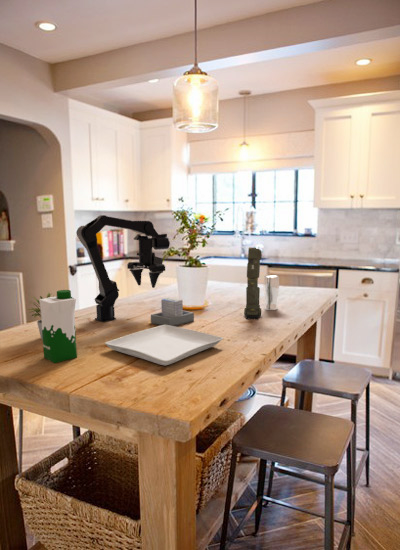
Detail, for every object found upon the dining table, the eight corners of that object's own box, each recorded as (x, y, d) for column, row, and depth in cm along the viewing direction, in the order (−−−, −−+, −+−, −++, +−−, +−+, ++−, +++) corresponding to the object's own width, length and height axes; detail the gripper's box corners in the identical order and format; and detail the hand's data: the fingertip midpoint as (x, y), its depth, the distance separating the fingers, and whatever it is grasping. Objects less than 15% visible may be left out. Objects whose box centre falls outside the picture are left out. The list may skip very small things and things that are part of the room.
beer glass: (278, 307, 188) (278, 275, 185) (279, 310, 181) (280, 277, 179) (262, 307, 188) (263, 275, 186) (263, 310, 181) (264, 277, 179)
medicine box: (183, 321, 161) (183, 299, 160) (175, 323, 157) (175, 301, 156) (169, 318, 166) (169, 297, 165) (161, 320, 163) (161, 299, 161)
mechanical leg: (260, 319, 162) (262, 245, 164) (242, 318, 163) (244, 245, 166) (261, 319, 175) (263, 250, 178) (245, 318, 177) (247, 250, 179)
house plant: (26, 333, 147) (23, 289, 144) (66, 329, 151) (64, 286, 149) (24, 345, 133) (21, 296, 131) (68, 340, 138) (66, 293, 136)
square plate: (164, 333, 148) (164, 323, 147) (225, 348, 130) (225, 336, 130) (103, 352, 127) (103, 340, 126) (166, 373, 110) (166, 359, 109)
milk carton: (81, 357, 121) (78, 291, 119) (52, 365, 115) (48, 296, 112) (67, 350, 128) (64, 288, 125) (39, 357, 121) (35, 292, 118)
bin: (169, 328, 153) (169, 319, 153) (150, 323, 160) (150, 314, 160) (193, 321, 163) (193, 312, 163) (175, 316, 170) (175, 308, 170)
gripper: (174, 250, 172) (174, 286, 174) (145, 248, 185) (146, 282, 187) (154, 252, 164) (155, 289, 166) (126, 249, 176) (127, 285, 179)
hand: (146, 286), depth 175 cm, fingers open, 9 cm apart
